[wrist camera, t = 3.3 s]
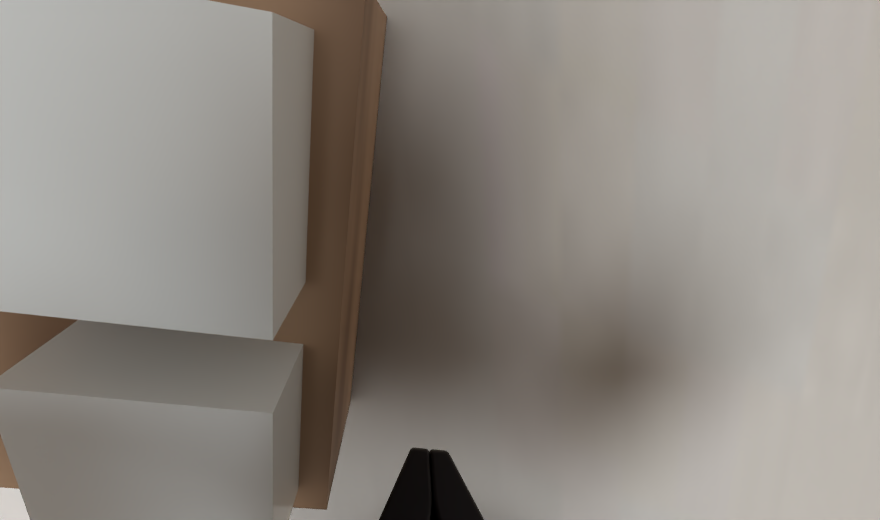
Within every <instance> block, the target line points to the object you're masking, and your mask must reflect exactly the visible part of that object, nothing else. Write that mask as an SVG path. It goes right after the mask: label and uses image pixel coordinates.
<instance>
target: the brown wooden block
mask: <svg viewBox="0 0 880 520" xmlns="http://www.w3.org/2000/svg"><path fill="white" fill-rule="evenodd" d="M209 1H215V2H220V3H226V4H231V5H237V6H242V7H247V8H253V9H258V10H264V11H269V12H273V13H276V14H278V15H280V16H283V17H285V18H288V19H290V20H292V21H295V22H297V23H299V24H302V25H304V26H307V27H309V28H311V29H314V52H313V81H312V110H311V139H310V168H309V197H308V226H307V255H306V282H305V284H304V286H303V288H302V289H301V291H300V293H299V295H298V297H297V298H296V300H295V302H294V304H293V305H292V307H291V309H290V311H289V312H288V314H287V316H286V318H285V320H284V321H283V323H282V325H281V327H280V328H279V330H278V332H277V334H276V336H275V337H274V339H273V341H280V342H289V343H298V344H303V370H302V399H301V428H300V457H299V486H298V491H297V495H296V498H295V501H294V505H293V507H296V508H310V509H325V510H327V505H328V501H329V496H330V491H331V487H332V482H333V478H334V473H335V469H336V464H337V460H338V455H339V451H340V446H341V442H342V437H343V433H344V428H345V424H346V419H347V414H348V410H349V405H350V400H351V389H352V379H353V368H354V358H355V347H356V337H357V326H358V315H359V305H360V294H361V284H362V273H363V263H364V252H365V242H366V231H367V221H368V210H369V200H370V189H371V179H372V168H373V158H374V147H375V137H376V126H377V116H378V105H379V95H380V84H381V74H382V63H383V53H384V42H385V32H386V21H387V16H386V15H385V13H384V12H383V10H382V8H381V7H380V5H379V3H378V2H377V0H209ZM76 321H77V319H67V318H58V317H49V316H39V315H30V314H21V313H11V312H2V311H0V375H2V374H3V373H4V372H6V371H7V370H9V369H10V368H11V367H13V366H14V365H16V364H17V363H18V362H20V361H21V360H23V359H24V358H25V357H27V356H28V355H30V354H31V353H32V352H34V351H35V350H37V349H38V348H39V347H41V346H42V345H44V344H45V343H47V342H48V341H49V340H51V339H52V338H54V337H55V336H56V335H58V334H59V333H61V332H62V331H63V330H65V329H66V328H68V327H69V326H70V325H72V324H73V323H75V322H76ZM84 321H86V320H84ZM93 322H95V321H93ZM103 323H105V322H103ZM112 324H114V323H112ZM121 325H123V324H121ZM131 326H133V325H131ZM140 327H142V326H140ZM149 328H151V327H149ZM159 329H161V328H159ZM168 330H170V329H168ZM177 331H179V330H177ZM186 332H188V331H186ZM196 333H198V332H196ZM205 334H207V333H205ZM214 335H216V334H214ZM224 336H226V335H224ZM233 337H235V336H233ZM242 338H244V337H242ZM252 339H254V338H252ZM261 340H263V339H261ZM270 341H272V340H270ZM0 487H5V488H19V486H18V483H17V480H16V477H15V475H14V472H13V469H12V466H11V463H10V460H9V458H8V455H7V452H6V449H5V446H4V443H3V441H2V438H1V435H0Z"/></svg>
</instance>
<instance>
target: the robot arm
mask: <svg viewBox="0 0 880 520" xmlns="http://www.w3.org/2000/svg"><path fill="white" fill-rule="evenodd" d="M379 520H484V519H483V517H482V515H481V513H480V511H479V509H478V508H477V506H476V504H475V502H474V500H473V498H472V496H471V494H470V492H469V491H468V489H467V487H466V485H465V483H464V481H463V479H462V477H461V475H460V473H459V472H458V470H457V468H456V466H455V464H454V462H453V460H452V458H451V456H450V455H449V453H448V452H447V451H444V450H434V449H432V450H430V451H428V449H423V448H412V449H411V450H410V451H409V454H408V456H407V458H406V460H405V463H404V465H403V467H402V469H401V472H400V474H399V476H398V478H397V481H396V483H395V485H394V487H393V490H392V492H391V494H390V496H389V499H388V501H387V503H386V505H385V508H384V510H383V512H382V514H381V517H380V519H379Z"/></svg>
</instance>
